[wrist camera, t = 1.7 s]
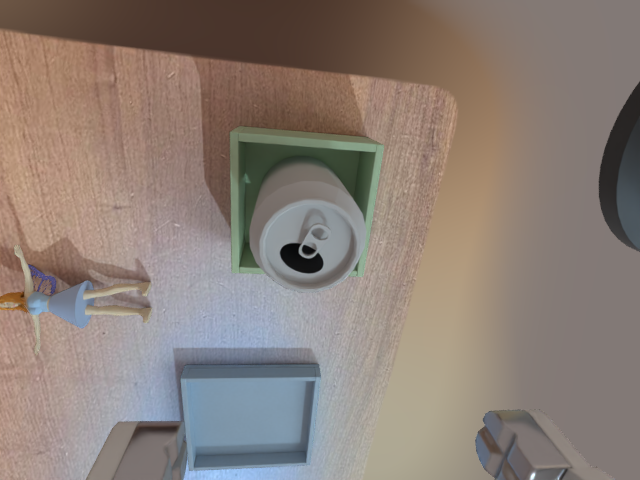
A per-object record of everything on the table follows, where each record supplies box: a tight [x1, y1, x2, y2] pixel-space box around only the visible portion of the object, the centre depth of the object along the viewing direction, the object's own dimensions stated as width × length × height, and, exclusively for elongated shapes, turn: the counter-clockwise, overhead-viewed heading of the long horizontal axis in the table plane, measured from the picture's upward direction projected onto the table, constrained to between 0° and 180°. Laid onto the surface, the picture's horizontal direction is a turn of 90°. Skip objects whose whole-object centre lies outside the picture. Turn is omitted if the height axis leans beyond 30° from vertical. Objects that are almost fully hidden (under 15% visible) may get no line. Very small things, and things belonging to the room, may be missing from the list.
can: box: [249, 156, 366, 293], centre depth 25 cm, size 8×8×12 cm
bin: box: [230, 126, 384, 277], centre depth 28 cm, size 11×11×5 cm
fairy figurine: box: [0, 245, 152, 356], centre depth 31 cm, size 12×5×12 cm
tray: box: [180, 364, 321, 471], centre depth 40 cm, size 15×15×2 cm
